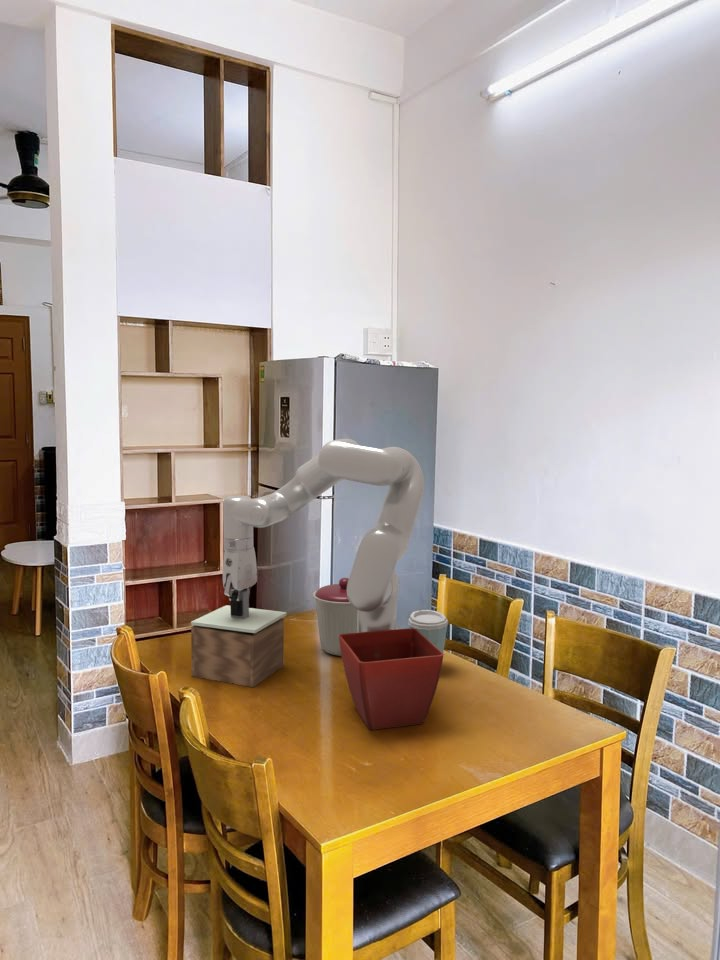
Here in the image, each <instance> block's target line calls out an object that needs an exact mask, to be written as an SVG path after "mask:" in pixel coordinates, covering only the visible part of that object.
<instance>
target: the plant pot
mask: <svg viewBox="0 0 720 960" xmlns="http://www.w3.org/2000/svg"><path fill="white" fill-rule="evenodd" d="M339 642H340V649H341V656H340V657H341V660H342V664H343V669H344V674H345V678H346V681H347V686H348V690H349V693H350V696H351V699H352V702H353V705H354V708H355V709H356V711H357V713H358V714H359V716H360V717H361V719H362V721H363V722H364V724H365V725H366V727H367V728H368V729H370V730H381V729H388V728H397V727H404V726H414V725H421V724H424V723H425V720H426V718H427V716H428V713H429V710H430V708H431V707H432V706H431V705H432V703H433V700H434V698H435V694H436V691H437V687H438V683H439V681H440V676H441V672H442V666H443V660H444V655H445V654H444V652H443V653H442V652H441V651H440V650H439V649H438V648H436V647H435V646H434V645H433V644H432V643H431V642H430V641H429V640H428V639H426V638H425V637H424V636H423V635H422V634H421V633H420V632H419V631H418V630H417V629H413V628H409V627H408V628H400V629H399V628H398V629H397V628H396V629H395V630H384V631H372V632H359V633H347V634H340V635H339Z"/></svg>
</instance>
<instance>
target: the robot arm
mask: <svg viewBox="0 0 720 960" xmlns="http://www.w3.org/2000/svg"><path fill="white" fill-rule="evenodd" d="M343 480H345V481H351V482H357V483H360V484H361V483H362V484H367V485H372V486H377V487H386V486H388V491H387V494H386V495H385V498H384V500H383V504H382V508H381V511H380V514H379V517H378V520H377V522H376V524H375V526H374V527H373V528H371V529H370V530H368V531H366V533H365V534H364V535H363V537H362V539H361V540H360V542H359V545H358V548H357V550H356V551H357V552H356V554H355V558H354V561H353V564H352V568H351V570H350V574H349V577H348V578H349V580H348V584H347V597H348V600H349V602H350V603H351V605H352V606H353V607H354V608H356V609H357V610H358V611H357V633H359V632H372V631H384V630H396V629H397V628H396V627H397V607H398V605H397V604H398V597H399V587H400V586H399V585H400V584H399V578H398V574H397V572H396V571H395V569H396V566H397V563H398V561H400V559H402V558H403V557H404V555H405V554H406V553H407V551H408V547H409V545H410V540H411V537H412V534H413V530H414V526H415V523H416V520H417V517H418V513H419V509H420V507H421V503H422V499H423V496H424V489H425V478H424V473H423V469H422V468H421V465H420V464H419V462H418V460H417V459H416V458H415V457H414V455H413V454H411V453H410V452H409V451H408V450H406V449H404V448H401V447H399V446H388V447H383V448H377V447H372V446H366V445H365V446H364V445H360V444H359V443H358V442H357V441H355V440H354V439H351V438H339V439H334V440H331V441H328V442H326V443H325V444H324V445H323V446H322V447H321V448H320V451H319V452H318V454H316V455H315V456H314V457H312V458H311V459H310V460H308V461H306V462H305V463H304V464H302V465H301V466H299V467H298V468H297V470H296V471H295V476H294V477H293V478H292V479H291V480H289V481H288V482H287V483H286V484H284V485H283V486H281V487H280V488H278V489H277V490H276V491H274V492H272V493H269V494H266V495H263V496H260V497H256V498H254V497H253V498H252V497H250V496H248V495H243V494H242V495H239V494H237V495H227V496H226V497H225V498H224V499H223V501H222V503H223V504H222V513H223V515H222V518H223V550H224V552H223V561H222V585H223V588H224V591H223V593H224V595H225V596H227V597H228V600H229V602H230V603H231V604H230V603H229V604H230V606H231V615H234V616H242V601H240V600H241V590H249V597H250V596H251V592H250V591H251V588H252V587H253V586H254V585H256V583H257V582H258V566H257V557H256V551H255V547H254V528H258V529H259V528H260V529H261V528H266V527H269V526H271V525H274V524H277V523H280V522H282V521H284V520H286V519H288V518H289V517H290V516H292V515H293V514H295V513H296V512H298V511H300V510H301V509H302V508H304V507H305V506H307V505H308V504H309V503H310V502H312V501H315V500H316V498H318V497H319V496H320V495H322V494H324V493H325V492H327V491H328V490H329V489H331V488H332V487H334V486H336V485H337V484H338V483H340V482H341V481H343ZM233 591H236V592H237V594H236V593H235V592H233Z"/></svg>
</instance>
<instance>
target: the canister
mask: <svg viewBox="0 0 720 960" xmlns="http://www.w3.org/2000/svg"><path fill="white" fill-rule="evenodd" d="M348 580H349V577H341V578H340V579H339V581H338V583H334V584H328V585H325V586H321V587H320V588H319V589H317V590H315V591H314V592H313V593H312V597H313V598H314V599H315V607H316V617H317V619H316V620H317V627H318V629H317V630H318V636H319V643H320V646H321V648H322V650H323V651H324V652H326V653H328V654H329V655H333V656H339V657H342V656H341V649H340V642H339V635H340V634H347V633H357V611H358V610H357V609H356V608H354V607H353V606H352V605H351V603H350V602H349V600H348V597H347V584H348Z"/></svg>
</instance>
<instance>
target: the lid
mask: <svg viewBox="0 0 720 960" xmlns="http://www.w3.org/2000/svg"><path fill="white" fill-rule="evenodd" d="M233 592H235V593H236V594H237V592H236V591H233ZM249 599H250V596H249V590H241V600H240V601H242V616H234V615H231V603H229V604H230V605H227V604H226V605H223V606H221V607H219V608H216V609H215V610H213V611H210V612H208V613H207V614H204V615H202V616H201V617H199V618H196V619H194V620H192V621H190V626H194V625H196V626H203V627H211V628H219V629H226V630H234V631H241V632H249V633H257V632H258V631H260V630H262V629H264V628H265V627H267V626H269V625H271V624H272V623H274V622H276V621H278V620H279V619H281V618H283V619H284V617H286V616H287V615H288V612H286V611H278V610H271V609H261V608H254V607H250V603H249V602H250V600H249Z"/></svg>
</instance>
